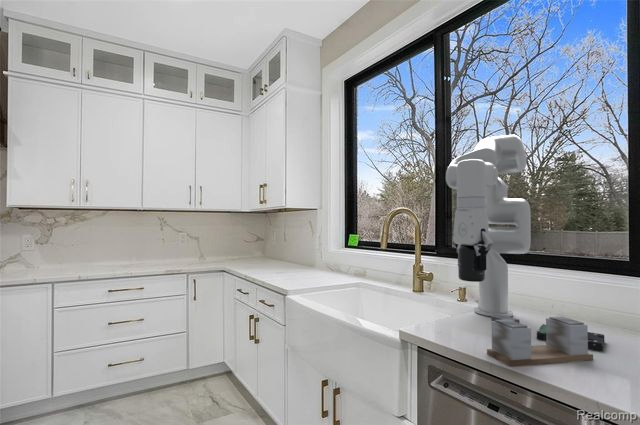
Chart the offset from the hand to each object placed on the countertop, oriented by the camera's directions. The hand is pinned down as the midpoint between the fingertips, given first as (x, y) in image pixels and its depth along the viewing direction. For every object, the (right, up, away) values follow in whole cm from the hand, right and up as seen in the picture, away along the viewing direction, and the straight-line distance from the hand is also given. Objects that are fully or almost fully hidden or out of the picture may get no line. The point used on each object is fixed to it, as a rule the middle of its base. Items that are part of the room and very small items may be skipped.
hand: (471, 267), depth 99 cm
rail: (+11, -20, -12) cm, 26 cm away
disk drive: (+28, -21, +1) cm, 35 cm away
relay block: (+12, -21, +6) cm, 25 cm away
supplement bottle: (0, -4, 0) cm, 4 cm away
